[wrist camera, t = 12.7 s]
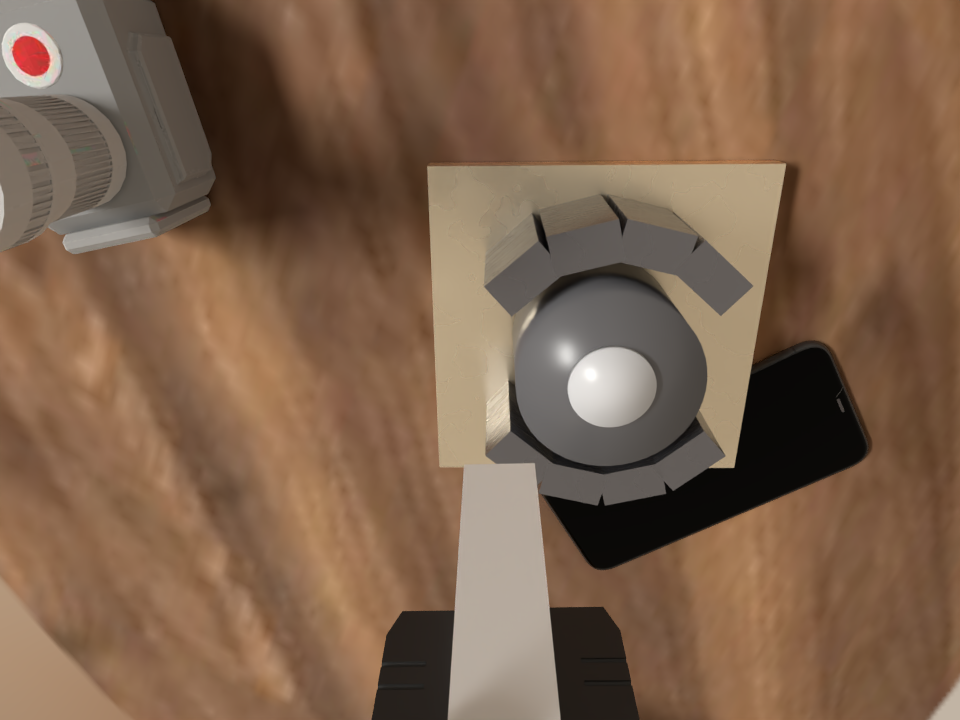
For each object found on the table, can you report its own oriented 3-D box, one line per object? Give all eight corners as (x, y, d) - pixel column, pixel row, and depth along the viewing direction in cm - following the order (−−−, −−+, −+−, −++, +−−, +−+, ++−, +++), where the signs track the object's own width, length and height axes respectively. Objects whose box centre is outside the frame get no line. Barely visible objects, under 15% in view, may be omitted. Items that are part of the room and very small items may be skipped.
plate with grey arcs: (429, 162, 28) (414, 186, 23) (776, 160, 27) (839, 184, 22) (440, 455, 33) (431, 527, 28) (727, 456, 33) (769, 528, 28)
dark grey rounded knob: (507, 262, 28) (510, 305, 23) (677, 249, 28) (715, 290, 23) (517, 409, 31) (521, 475, 26) (671, 400, 31) (704, 465, 26)
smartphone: (593, 567, 37) (868, 450, 33) (595, 579, 36) (877, 459, 32) (527, 468, 34) (817, 329, 31) (527, 477, 33) (826, 336, 30)
